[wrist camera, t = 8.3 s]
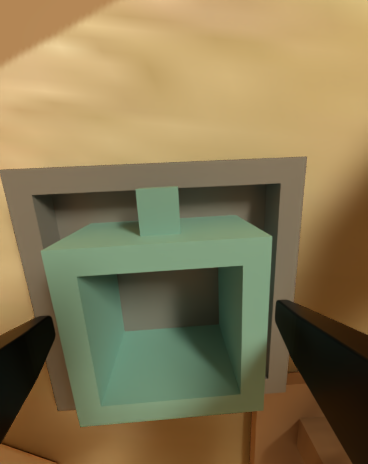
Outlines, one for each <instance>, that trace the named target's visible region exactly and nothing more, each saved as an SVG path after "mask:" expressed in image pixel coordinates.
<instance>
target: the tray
mask: <svg viewBox="0 0 368 464" xmlns="http://www.w3.org/2000/svg"><path fill="white" fill-rule="evenodd" d="M306 162H307V157H285V158H262V159H239V160H215V161H192V162H169V163H146V164H122V165H99V166H76V167H52V168H29V169H6V170H0V175H1V180H2V184H3V188H4V192H5V196H6V200H7V204H8V208H9V212H10V216H11V221H12V225H13V229H14V233H15V237H16V241H17V245H18V249H19V253H20V257H21V262H22V266H23V270H24V274H25V278H26V282H27V286H28V290H29V294H30V298H31V303H32V307H33V311H34V315H35V318H36V317H38V316H46V315H49V316H51V317H52V319H53V324H54V328H55V333H56V336H55V340H54V342H53V345H52V347H51V349H50V351H49V354H48V356H47V358H46V364H47V368H48V372H49V376H50V380H51V384H52V389H53V393H54V397H55V401H56V405H57V409H58V411H65V410H76V406H75V402H74V397H73V393H72V389H71V384H70V380H69V375H68V371H67V366H66V362H65V357H64V353H63V349H62V344H61V340H60V335H59V331H58V326H57V322H56V317H55V313H54V309H53V304H52V300H51V295H50V291H49V286H48V282H47V277H46V273H45V269H44V264H43V260H42V255H41V250H43V249H45V248H47V247H49V246H50V245H52V244H54V243H56V242H58V241H60V240H61V239H63V238H65V237H67V236H69V235H70V234H72V233H74V232H76V231H78V230H80V229H81V228H83V227H85V226H87V225H89V224H91V223H107V222H124V221H139V219H138V210H137V200H136V190H135V189H138V188H149V187H168V186H178V196H179V214H180V218H193V217H210V216H227V215H237V216H239V217H240V218H242V219H244V220H245V221H247V222H249V223H250V224H252V225H254V226H256V227H257V228H259V229H261V230H262V231H264V232H266V233H267V234H269V235H271V236H272V254H271V274H270V293H269V312H268V332H267V351H266V370H265V390H264V394H270V393H282V392H286V384H287V373H288V362H289V352H288V350H287V347H286V345H285V343H284V341H283V339H282V336H281V334H280V332H279V330H278V327H277V325H276V323H275V305H276V301H277V300H283V299H287V300H290V301H292V302H294V295H295V284H296V273H297V262H298V251H299V240H300V229H301V217H302V206H303V195H304V184H305V173H306ZM117 279H118V287H119V294H120V301H121V308H122V316H123V323H124V330H125V331H138V330H151V329H164V328H177V327H191V326H204V325H217V324H219V289H218V267H214V268H199V269H184V270H169V271H154V272H139V273H124V274H117Z"/></svg>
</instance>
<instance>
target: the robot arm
mask: <svg viewBox="0 0 368 464" xmlns="http://www.w3.org/2000/svg"><path fill="white" fill-rule="evenodd" d="M275 323H276V325H277V327H278V330H279V332H280V334H281V336H282V339H283V341H284V343H285V345H286V347H287V350H288V352H289V354H290V356H291V358H292V360H293V362H294V364H295V366H296V367H297V369H298V371H299V373H300V374H301V376H302V378H303V379H304V381H305V383H306V385H307V386H308V388H309V390H310V392H311V393H312V395H313V397H314V398H315V400H316V402H317V404H318V405H319V407H320V409H321V411H322V412H323V414H324V416H325V418H326V419H327V421H328V423H329V424H330V426H331V428H332V430H333V431H334V433H335V435H336V437H337V438H338V440H339V442H340V443H341V445H342V447H343V449H344V450H345V452H346V454H347V456H348V457H349V459H350V461H351V462H352V464H368V335H366V334H364V333H362V332H360V331H357V330H355V329H353V328H351V327H348V326H346V325H344V324H342V323H339V322H337V321H335V320H333V319H330V318H328V317H326V316H324V315H321V314H319V313H317V312H314V311H312V310H310V309H308V308H305V307H303V306H301V305H299V304H296V303H294V302H292V301H290V300H287V299H283V300H277V301H276V305H275ZM55 336H56V333H55V328H54V324H53V319H52V317H51V316H49V315H46V316H38V317H36V318H34V319H32V320H30V321H28V322H26V323H24V324H22V325H20V326H18V327H16V328H14V329H12V330H10V331H8V332H6V333H5V334H3V335H1V336H0V444H1V443H2V441H3V439H4V437H5V435H6V434H7V432H8V430H9V428H10V427H11V425H12V423H13V421H14V419H15V418H16V416H17V414H18V412H19V410H20V409H21V407H22V405H23V403H24V402H25V400H26V398H27V396H28V394H29V393H30V391H31V389H32V387H33V385H34V384H35V382H36V380H37V378H38V376H39V374H40V371H41V369H42V367H43V365H44V362H45V360H46V358H47V356H48V354H49V351H50V349H51V347H52V345H53V342H54V340H55Z"/></svg>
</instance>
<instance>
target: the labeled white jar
mask: <svg viewBox="0 0 368 464" xmlns="http://www.w3.org/2000/svg"><path fill="white" fill-rule="evenodd" d="M0 464H57V463H55V462H52V461H49V460H47V459H44V458H41V457H38V456H35V455H32V454H29V453H26V452H24V451H21V450H18V449H15V448H12V447H9V446H6V445H3V444H0Z"/></svg>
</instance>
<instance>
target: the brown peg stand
mask: <svg viewBox="0 0 368 464" xmlns="http://www.w3.org/2000/svg"><path fill="white" fill-rule="evenodd" d="M250 464H352V462H351V461H350V459H349V457H348V456H347V454H346V452H345V450H344V449H343V447H342V445H341V443H340V442H339V440H338V438H337V437H336V435H335V433H334V431H333V430H332V428H331V426H330V424H329V423H328V421H327V419H326V418H325V416H324V414H323V412H322V411H321V409H320V407H319V405H318V404H317V402H316V400H315V398H314V397H313V395H312V393H311V392H310V390H309V388H308V386H307V385H306V383H305V381H304V379H303V378H302V376H301V374H300V373H299V372H292V373H287V384H286V392H282V393H270V394H264V409H263V411H253V412H252V418H251V442H250Z"/></svg>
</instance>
